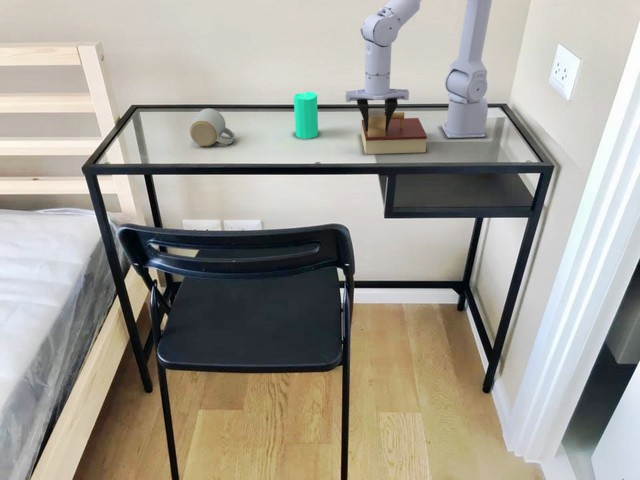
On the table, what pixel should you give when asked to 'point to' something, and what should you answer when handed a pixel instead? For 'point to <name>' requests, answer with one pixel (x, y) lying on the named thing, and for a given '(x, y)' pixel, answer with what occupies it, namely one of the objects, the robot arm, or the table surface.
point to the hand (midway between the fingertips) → (375, 129)
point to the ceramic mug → (210, 128)
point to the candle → (306, 115)
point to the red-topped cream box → (393, 145)
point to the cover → (400, 129)
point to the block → (376, 124)
